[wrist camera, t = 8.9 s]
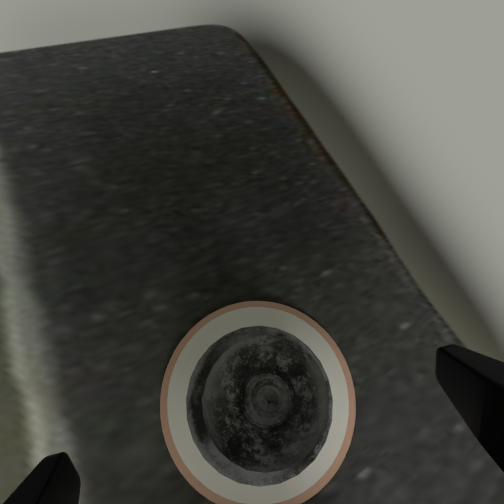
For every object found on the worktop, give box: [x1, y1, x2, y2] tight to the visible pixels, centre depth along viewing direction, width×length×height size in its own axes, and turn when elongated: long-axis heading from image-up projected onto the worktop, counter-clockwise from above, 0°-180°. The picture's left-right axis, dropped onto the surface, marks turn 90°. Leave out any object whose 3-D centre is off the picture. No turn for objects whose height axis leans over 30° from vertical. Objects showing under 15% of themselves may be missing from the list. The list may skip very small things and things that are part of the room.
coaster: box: [160, 301, 356, 504], centre depth 17 cm, size 10×10×1 cm
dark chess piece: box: [186, 326, 333, 487], centre depth 11 cm, size 6×6×12 cm
